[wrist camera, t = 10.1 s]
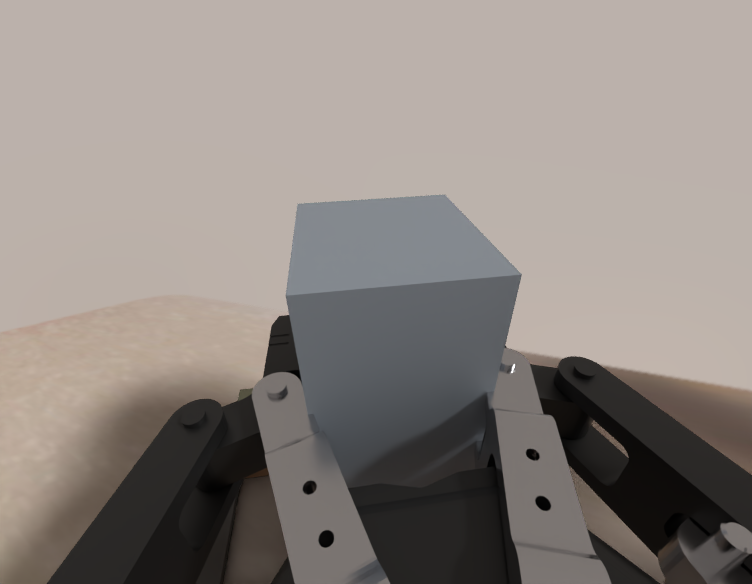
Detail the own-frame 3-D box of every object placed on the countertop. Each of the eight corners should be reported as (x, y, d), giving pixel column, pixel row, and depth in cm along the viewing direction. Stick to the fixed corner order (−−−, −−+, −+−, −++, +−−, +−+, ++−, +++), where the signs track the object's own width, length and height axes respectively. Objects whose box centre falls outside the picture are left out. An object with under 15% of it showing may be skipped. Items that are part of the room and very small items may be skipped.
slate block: (459, 538, 13) (521, 274, 7) (334, 559, 12) (285, 295, 6) (424, 422, 17) (444, 194, 11) (330, 434, 17) (297, 204, 11)
